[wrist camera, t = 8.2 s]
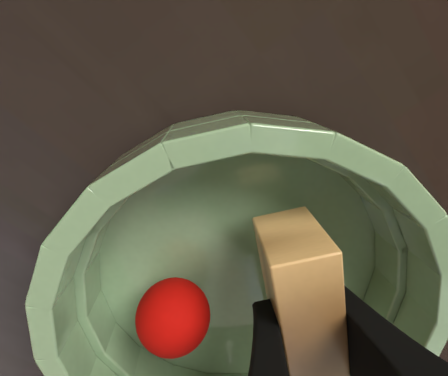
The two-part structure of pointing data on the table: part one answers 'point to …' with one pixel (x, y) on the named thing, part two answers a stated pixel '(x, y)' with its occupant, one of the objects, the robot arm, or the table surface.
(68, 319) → the bowl
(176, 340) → the ball
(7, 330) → the table surface
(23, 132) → the table surface
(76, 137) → the table surface
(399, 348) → the robot arm
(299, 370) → the block
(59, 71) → the table surface
